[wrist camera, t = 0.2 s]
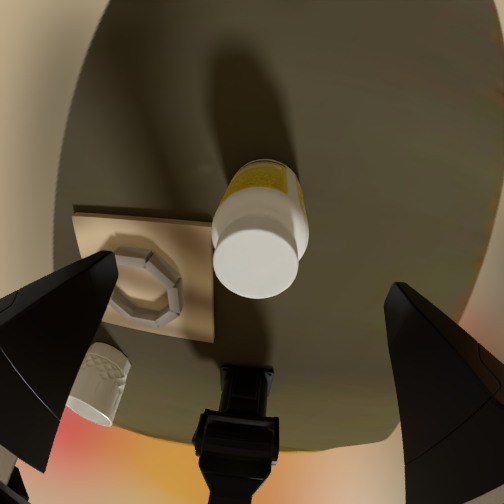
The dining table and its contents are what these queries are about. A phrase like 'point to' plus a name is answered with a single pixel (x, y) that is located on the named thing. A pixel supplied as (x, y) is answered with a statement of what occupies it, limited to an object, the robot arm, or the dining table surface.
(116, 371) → the white cup
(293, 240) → the supplement bottle
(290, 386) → the dining table surface
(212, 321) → the board
